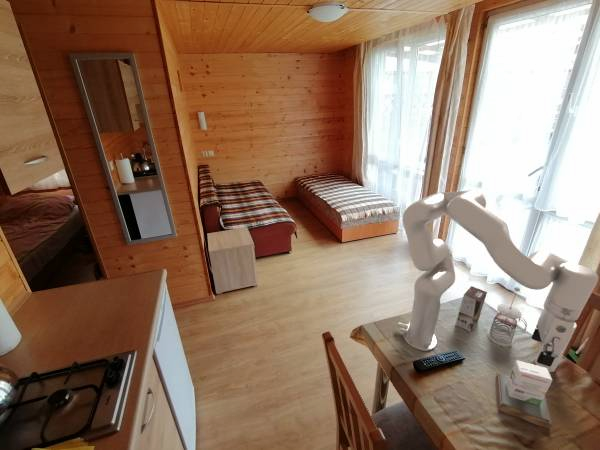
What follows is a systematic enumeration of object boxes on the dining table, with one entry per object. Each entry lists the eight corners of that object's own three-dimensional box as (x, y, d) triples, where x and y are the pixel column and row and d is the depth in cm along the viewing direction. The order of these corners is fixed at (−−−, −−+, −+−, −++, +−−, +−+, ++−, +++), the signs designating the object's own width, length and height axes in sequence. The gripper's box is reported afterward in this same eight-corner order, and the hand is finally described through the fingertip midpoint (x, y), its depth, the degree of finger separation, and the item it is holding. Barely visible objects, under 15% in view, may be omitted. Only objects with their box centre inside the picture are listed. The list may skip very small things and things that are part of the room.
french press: (488, 325, 129) (504, 276, 118) (520, 337, 122) (540, 287, 111) (484, 338, 122) (500, 288, 111) (517, 352, 115) (538, 301, 104)
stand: (498, 409, 95) (500, 403, 94) (495, 377, 105) (498, 371, 104) (548, 429, 89) (552, 423, 88) (540, 393, 100) (543, 387, 98)
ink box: (535, 392, 97) (548, 367, 92) (540, 406, 93) (553, 380, 88) (505, 384, 100) (515, 358, 95) (508, 396, 96) (519, 371, 91)
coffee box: (470, 332, 125) (480, 301, 118) (455, 324, 129) (463, 294, 122) (478, 321, 130) (488, 292, 124) (463, 314, 135) (471, 285, 128)
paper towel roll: (549, 375, 106) (571, 330, 97) (531, 362, 111) (550, 318, 102) (560, 367, 109) (582, 322, 100) (541, 355, 114) (561, 311, 105)
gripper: (590, 333, 72) (562, 380, 80) (571, 293, 86) (549, 336, 94) (551, 322, 76) (529, 368, 83) (540, 285, 89) (521, 328, 97)
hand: (540, 351), depth 88 cm, fingers open, 9 cm apart
